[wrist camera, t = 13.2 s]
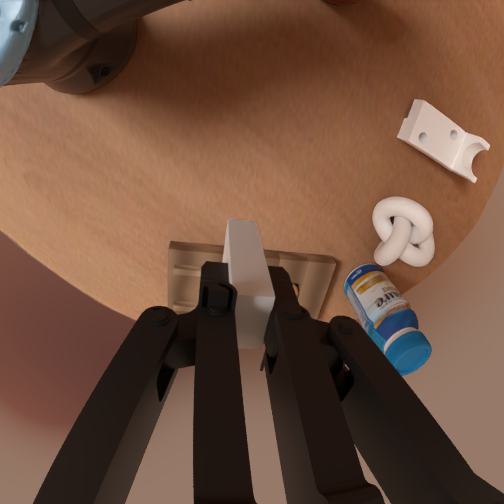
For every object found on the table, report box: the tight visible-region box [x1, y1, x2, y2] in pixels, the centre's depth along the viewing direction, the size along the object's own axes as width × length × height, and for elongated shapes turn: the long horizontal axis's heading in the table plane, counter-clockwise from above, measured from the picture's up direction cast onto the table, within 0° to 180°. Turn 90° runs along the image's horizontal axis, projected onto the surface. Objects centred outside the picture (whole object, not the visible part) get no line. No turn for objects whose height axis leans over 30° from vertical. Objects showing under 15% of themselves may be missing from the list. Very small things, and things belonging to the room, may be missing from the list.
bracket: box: [397, 99, 490, 183], centre depth 37 cm, size 13×7×8 cm, turn 71°
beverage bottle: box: [344, 263, 432, 376], centre depth 44 cm, size 8×8×20 cm
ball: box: [292, 283, 298, 296], centre depth 50 cm, size 3×3×3 cm
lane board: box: [168, 241, 336, 320], centre depth 49 cm, size 26×13×4 cm, turn 81°
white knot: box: [372, 196, 435, 267], centre depth 44 cm, size 11×12×9 cm
